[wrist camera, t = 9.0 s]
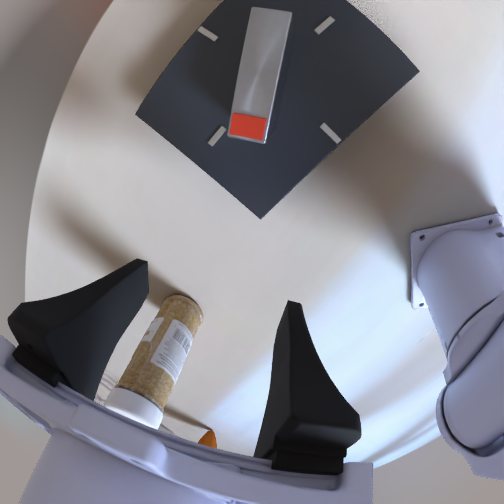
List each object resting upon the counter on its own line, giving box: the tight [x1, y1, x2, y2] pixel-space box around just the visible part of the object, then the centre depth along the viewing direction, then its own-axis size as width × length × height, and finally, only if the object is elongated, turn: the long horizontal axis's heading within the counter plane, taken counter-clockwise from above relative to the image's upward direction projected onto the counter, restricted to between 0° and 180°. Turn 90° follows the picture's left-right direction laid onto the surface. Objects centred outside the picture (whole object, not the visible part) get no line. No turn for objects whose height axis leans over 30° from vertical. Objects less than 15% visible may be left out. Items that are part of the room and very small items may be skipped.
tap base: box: [135, 0, 419, 219], centre depth 15 cm, size 14×11×3 cm
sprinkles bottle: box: [104, 295, 203, 430], centre depth 23 cm, size 5×5×14 cm
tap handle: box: [227, 7, 295, 144], centre depth 12 cm, size 6×2×4 cm, turn 170°
